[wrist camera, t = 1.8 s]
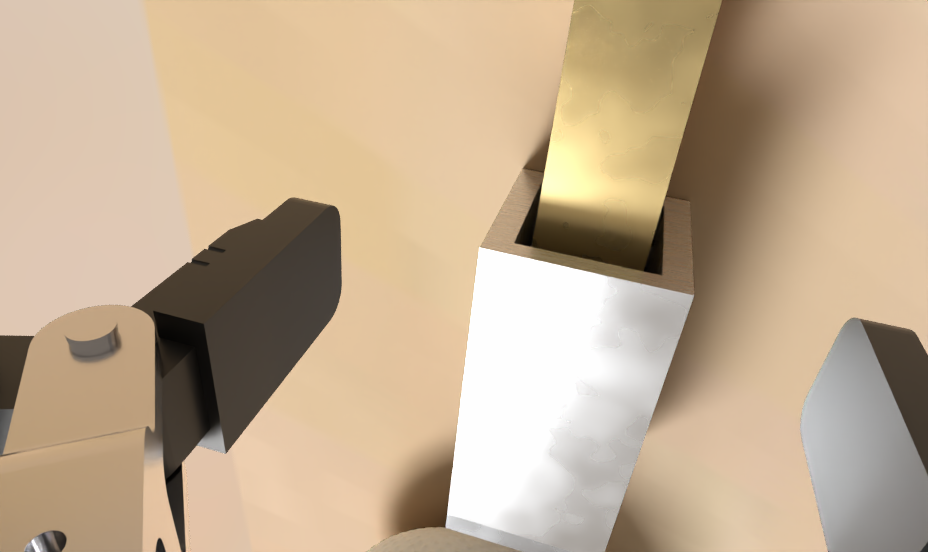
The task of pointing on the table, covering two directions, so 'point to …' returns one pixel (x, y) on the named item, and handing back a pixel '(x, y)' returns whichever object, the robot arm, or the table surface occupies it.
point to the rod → (620, 124)
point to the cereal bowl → (437, 542)
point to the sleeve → (561, 379)
